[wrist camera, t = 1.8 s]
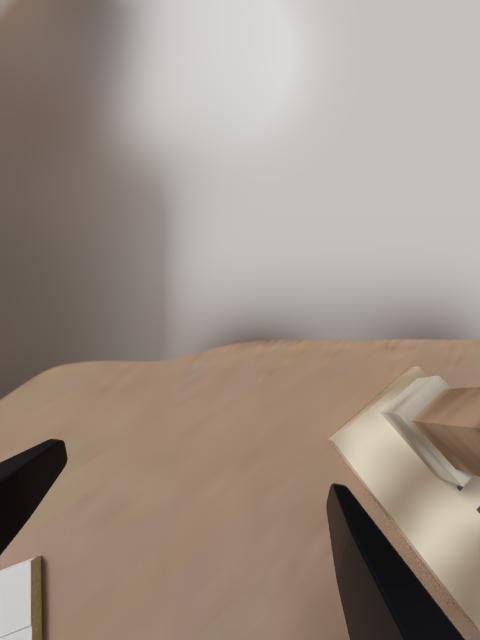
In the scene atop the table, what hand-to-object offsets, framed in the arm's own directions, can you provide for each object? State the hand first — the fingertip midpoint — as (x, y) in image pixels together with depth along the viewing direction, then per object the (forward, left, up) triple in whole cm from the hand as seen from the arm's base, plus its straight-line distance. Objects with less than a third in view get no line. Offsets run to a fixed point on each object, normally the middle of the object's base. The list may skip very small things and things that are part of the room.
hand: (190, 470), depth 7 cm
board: (-13, -12, -15) cm, 24 cm away
